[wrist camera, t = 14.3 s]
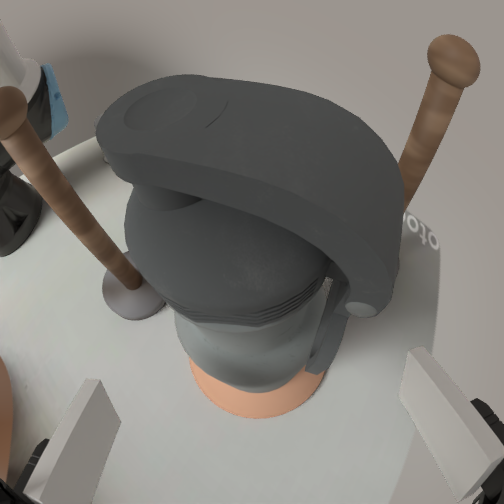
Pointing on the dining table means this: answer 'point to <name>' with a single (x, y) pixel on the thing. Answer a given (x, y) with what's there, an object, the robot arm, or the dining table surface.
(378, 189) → the water bottle
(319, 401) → the dining table surface
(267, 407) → the glossy peach dome
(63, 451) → the robot arm
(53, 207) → the walnut post
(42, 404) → the dining table surface
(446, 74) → the walnut post
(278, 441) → the dining table surface
